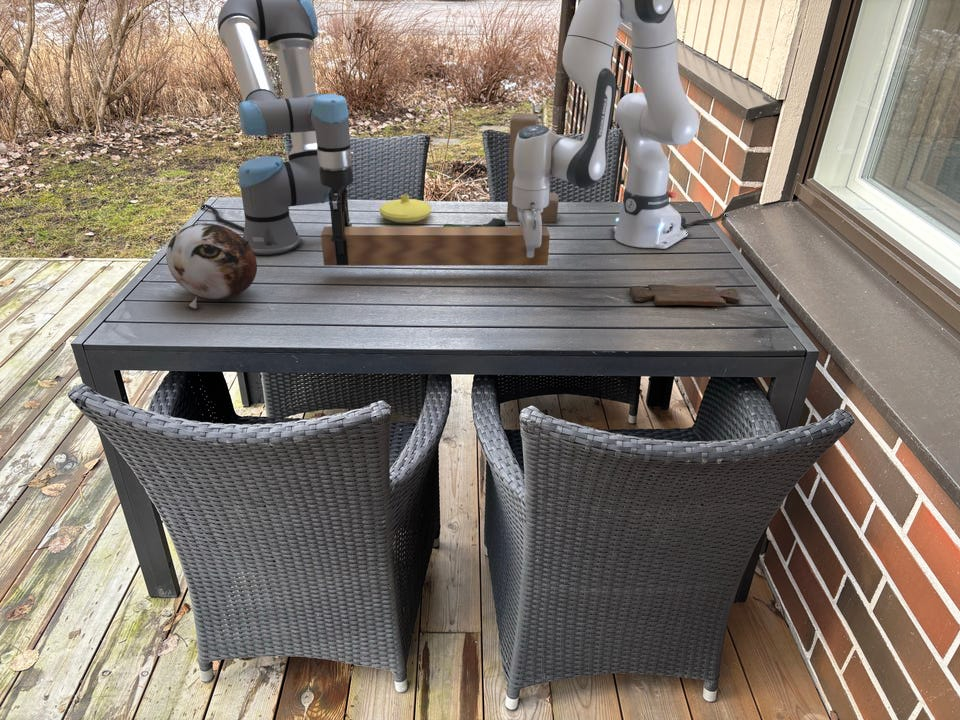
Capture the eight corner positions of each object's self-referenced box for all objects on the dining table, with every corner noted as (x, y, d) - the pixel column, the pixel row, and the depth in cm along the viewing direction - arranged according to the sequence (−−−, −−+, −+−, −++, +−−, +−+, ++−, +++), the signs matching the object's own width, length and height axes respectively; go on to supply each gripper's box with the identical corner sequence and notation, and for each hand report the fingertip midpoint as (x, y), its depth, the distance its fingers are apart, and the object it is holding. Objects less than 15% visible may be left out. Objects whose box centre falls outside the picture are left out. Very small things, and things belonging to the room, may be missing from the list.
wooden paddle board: (744, 309, 167) (732, 291, 176) (746, 303, 166) (734, 285, 175) (634, 305, 167) (627, 287, 176) (635, 299, 167) (628, 281, 175)
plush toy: (130, 285, 161) (164, 203, 163) (192, 308, 177) (221, 233, 178) (195, 307, 151) (229, 220, 152) (254, 330, 166) (285, 250, 168)
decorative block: (556, 223, 215) (563, 120, 199) (506, 220, 216) (510, 118, 201) (557, 215, 221) (564, 114, 206) (509, 212, 223) (512, 112, 207)
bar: (323, 265, 175) (320, 234, 171) (327, 256, 180) (324, 226, 175) (547, 265, 177) (549, 235, 173) (544, 256, 182) (547, 226, 178)
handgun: (511, 219, 210) (493, 234, 198) (511, 228, 211) (492, 244, 199) (461, 212, 215) (440, 226, 203) (461, 221, 217) (440, 236, 204)
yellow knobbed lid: (403, 206, 226) (402, 184, 222) (442, 217, 218) (442, 194, 215) (368, 220, 215) (367, 197, 211) (408, 231, 207) (407, 208, 203)
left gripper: (347, 179, 157) (355, 275, 169) (356, 154, 173) (362, 244, 185) (313, 179, 157) (323, 275, 169) (324, 154, 173) (333, 244, 185)
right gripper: (549, 211, 162) (546, 267, 169) (539, 184, 180) (536, 236, 187) (521, 211, 162) (519, 268, 169) (514, 184, 179) (512, 236, 187)
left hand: (344, 258), depth 177 cm, fingers closed on bar, 6 cm apart
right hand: (528, 251), depth 178 cm, fingers closed on bar, 5 cm apart
